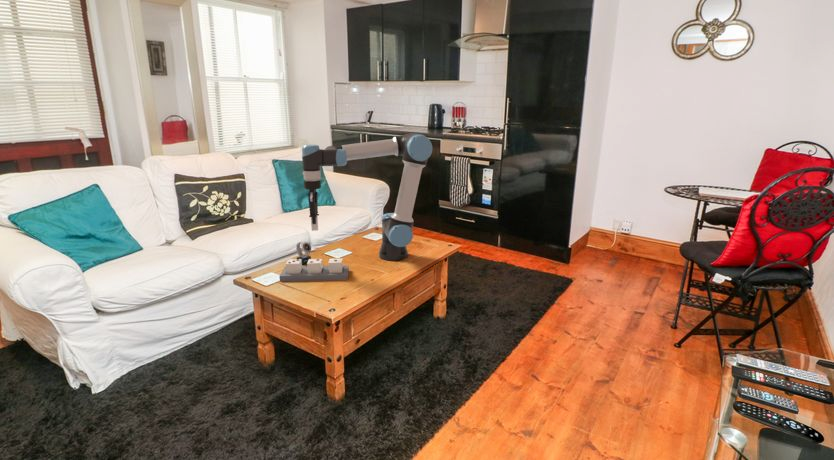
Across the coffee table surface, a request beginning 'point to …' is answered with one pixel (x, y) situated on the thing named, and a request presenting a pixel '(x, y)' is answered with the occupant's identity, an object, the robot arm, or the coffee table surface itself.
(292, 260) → the white die
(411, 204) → the robot arm
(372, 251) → the coffee table surface
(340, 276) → the board
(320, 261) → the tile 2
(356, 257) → the coffee table surface
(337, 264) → the white die
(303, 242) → the watch
